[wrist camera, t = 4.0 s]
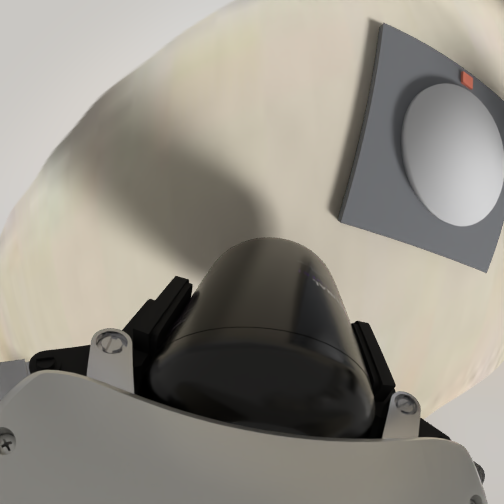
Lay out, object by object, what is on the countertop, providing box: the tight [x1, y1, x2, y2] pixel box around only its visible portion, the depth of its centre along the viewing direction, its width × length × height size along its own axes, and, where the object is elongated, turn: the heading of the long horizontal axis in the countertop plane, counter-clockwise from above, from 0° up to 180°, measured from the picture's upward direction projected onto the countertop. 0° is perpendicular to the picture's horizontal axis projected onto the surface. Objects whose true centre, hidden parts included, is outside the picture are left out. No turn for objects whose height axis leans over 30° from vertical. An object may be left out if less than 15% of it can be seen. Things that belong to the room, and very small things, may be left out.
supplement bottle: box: [138, 237, 376, 439], centre depth 8 cm, size 7×7×12 cm
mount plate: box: [338, 23, 504, 273], centre depth 13 cm, size 14×14×2 cm
